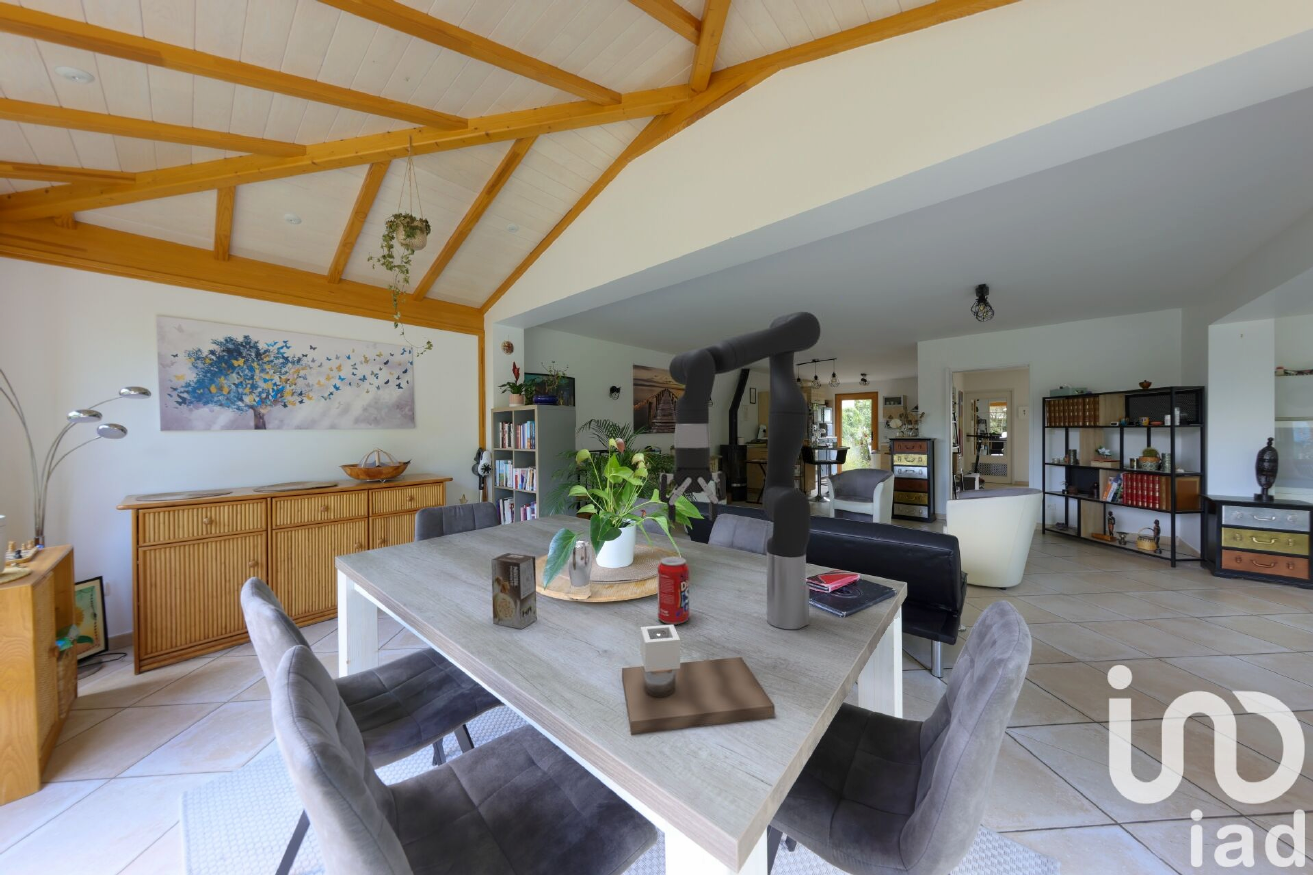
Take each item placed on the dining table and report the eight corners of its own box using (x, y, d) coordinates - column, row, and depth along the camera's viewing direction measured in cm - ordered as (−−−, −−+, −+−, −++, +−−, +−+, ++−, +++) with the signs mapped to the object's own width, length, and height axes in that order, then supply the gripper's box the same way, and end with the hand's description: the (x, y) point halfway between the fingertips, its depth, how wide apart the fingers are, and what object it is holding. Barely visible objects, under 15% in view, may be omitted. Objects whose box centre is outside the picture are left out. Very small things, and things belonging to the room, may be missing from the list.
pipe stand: (741, 666, 92) (741, 607, 92) (774, 717, 76) (774, 646, 76) (622, 678, 88) (621, 616, 88) (631, 733, 72) (630, 659, 72)
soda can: (652, 617, 116) (651, 558, 115) (678, 610, 119) (678, 553, 119) (668, 629, 109) (667, 566, 108) (695, 622, 113) (695, 561, 112)
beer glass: (581, 602, 125) (580, 548, 125) (562, 597, 129) (561, 544, 128) (597, 594, 131) (597, 542, 131) (579, 589, 135) (578, 539, 134)
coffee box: (538, 619, 115) (537, 555, 114) (521, 629, 109) (520, 563, 108) (508, 613, 118) (507, 552, 118) (491, 623, 112) (490, 559, 112)
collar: (673, 651, 84) (673, 624, 84) (680, 668, 78) (680, 639, 78) (640, 654, 83) (640, 626, 83) (645, 671, 77) (645, 642, 77)
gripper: (719, 444, 102) (719, 516, 102) (656, 444, 100) (656, 518, 100) (730, 445, 95) (730, 523, 95) (662, 446, 92) (662, 526, 93)
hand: (692, 521), depth 98 cm, fingers open, 8 cm apart
